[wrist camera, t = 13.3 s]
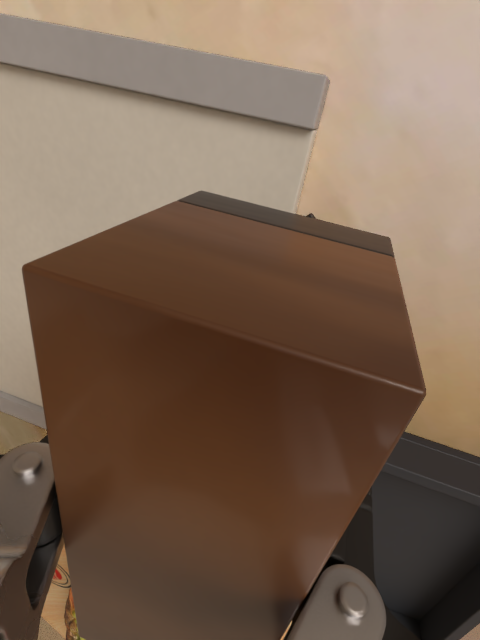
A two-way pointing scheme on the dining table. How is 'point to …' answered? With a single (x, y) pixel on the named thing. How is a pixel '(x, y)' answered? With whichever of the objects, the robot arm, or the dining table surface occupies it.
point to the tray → (428, 538)
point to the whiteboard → (128, 150)
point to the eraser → (215, 410)
